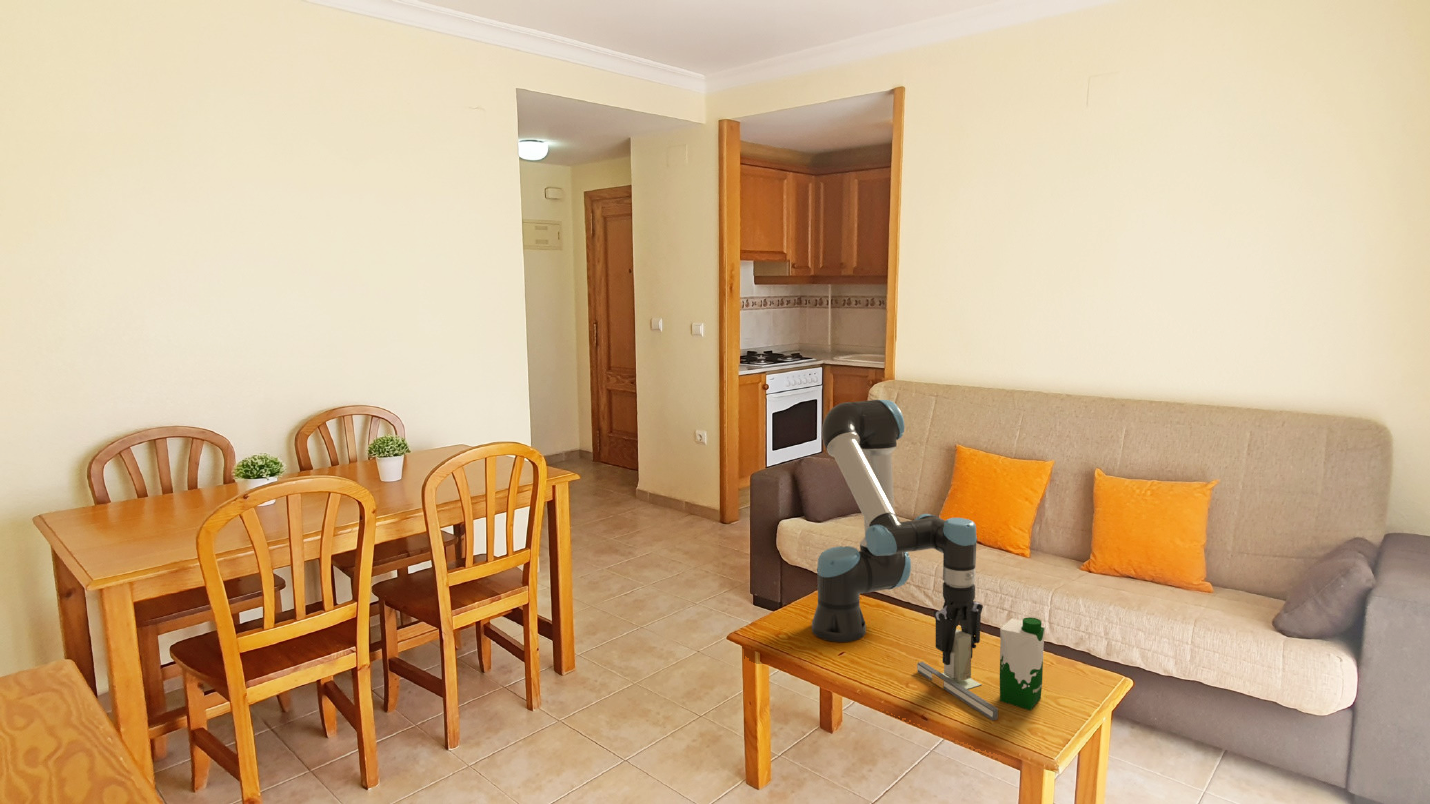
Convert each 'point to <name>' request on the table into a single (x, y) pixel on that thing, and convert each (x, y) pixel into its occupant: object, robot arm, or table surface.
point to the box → (962, 656)
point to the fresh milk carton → (1021, 662)
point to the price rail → (958, 691)
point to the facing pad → (966, 683)
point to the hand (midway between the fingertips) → (957, 673)
